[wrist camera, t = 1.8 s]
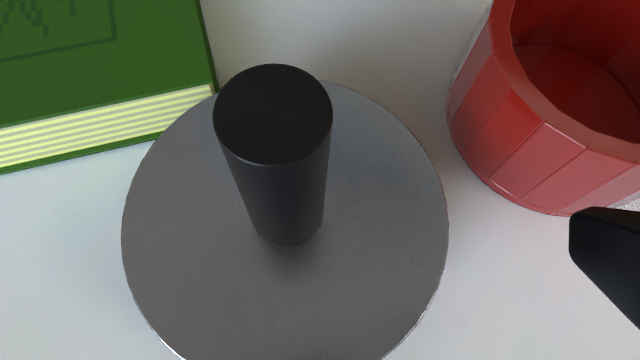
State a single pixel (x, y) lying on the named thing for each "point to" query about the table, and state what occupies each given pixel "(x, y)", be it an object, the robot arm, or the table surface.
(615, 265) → the robot arm
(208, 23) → the table surface
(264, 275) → the lid
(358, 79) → the table surface
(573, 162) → the red faceted pot
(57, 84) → the hardcover book
